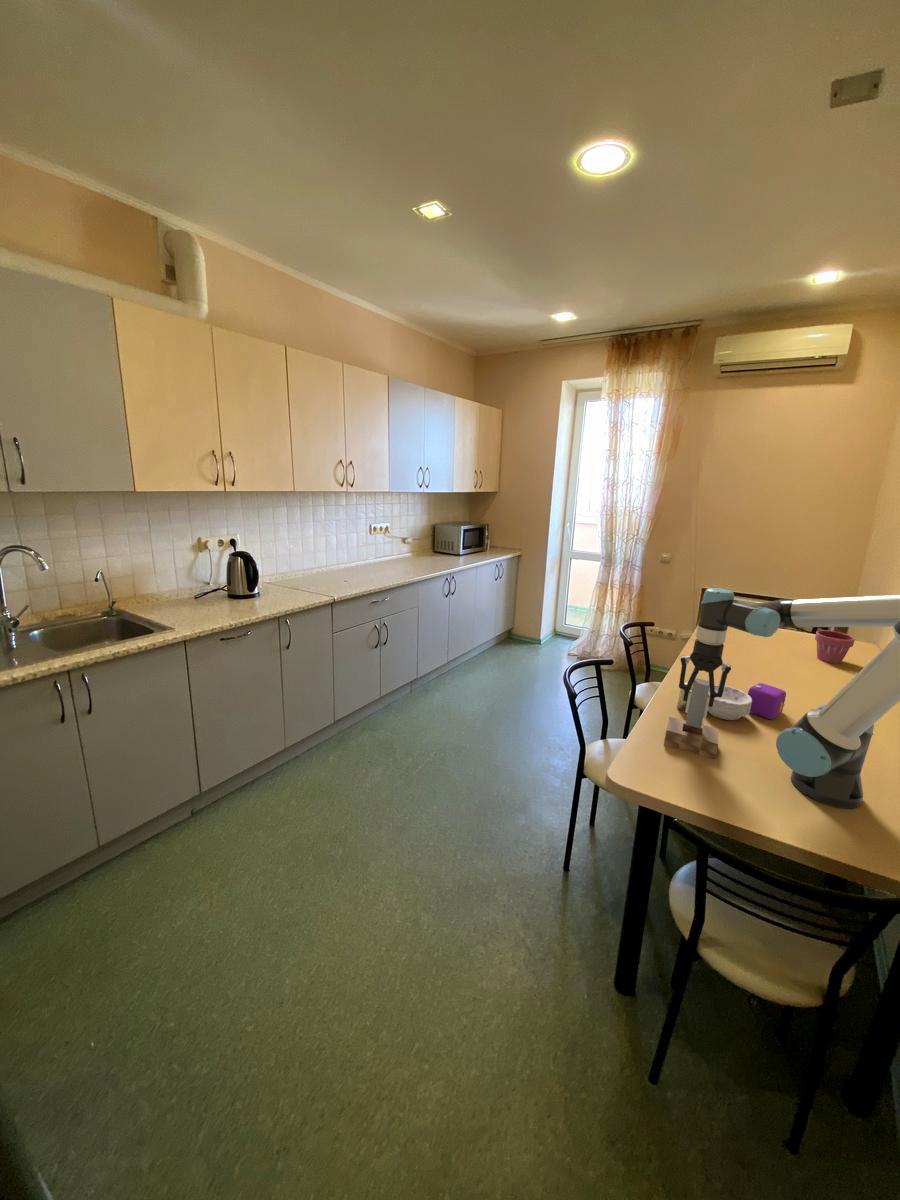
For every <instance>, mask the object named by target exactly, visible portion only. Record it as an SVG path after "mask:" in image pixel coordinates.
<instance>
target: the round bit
mask: <svg viewBox="0 0 900 1200" xmlns="http://www.w3.org/2000/svg"><path fill="white" fill-rule="evenodd" d="M688 681H689V680H684V684H685V685H687V683H688ZM692 687H693V684H692V686H691V689H690V690H692ZM684 692H685V691H684V690H683V689H680V688H679V693H678V699H677V705H676V709H677V710H678V711H680V712H682V713H685V714H687V713H686V712H685V710H686V705H687V701H684V700H683V698H684Z"/></svg>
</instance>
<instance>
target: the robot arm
mask: <svg viewBox="0 0 900 1200" xmlns="http://www.w3.org/2000/svg"><path fill="white" fill-rule="evenodd" d="M700 603H701V606H700V613H699V618H698V619H699V620H698V624H697V628H696V632H695V633H696V634H695V638H696V639H694V643H693V649H692V653H691V654H690V655H687V656H685V655H681V656H680V663H681V670H680V676H679V683H678V688H679V690H680V689H683V690H684V691H685V692H684V698H683V700H684V701H687V705H686V710H685V712H686V713H685V712H684V713H685V714H688V709H689V704H690V699H691V693H692V690H690V689H691V686H692V684H693V682H694V680H695V678H697V676H698V674H699V671H701V672H706V673H708V681H709V686H710V694H708V696H707V701H706V706H705V711H704V716H703V718H707V715H708V711H707V710H708V707H712V706H713V702H714V698H715V697H722V694H723V690H724V686H726V681H727V678H728V674H730V672H731V670H732V666H731V664H729V663H725V662H724V661H723V659H722V658H723V657H722V656H723V652H724V647H725V644H724V643H725V642H726V637H727V631H728V628H732V629H736V630H739V631H742V632H744V633H745V632H746V633H748V634H751V635H753V636H757V637H762V638H763V637H764V638H769V637H772V636H773V635H774V634H776V632H777V631H778V630H779V628H871V627H872V628H873V627H875V628H876V627H877V628H884V627H885V628H892V630H893V633H894V637H893V638H892V640H890V641H889V642H888V643H887V644H886V645H885V646H884V647H883V648H882V649H881V650H880V651H879V652H878V653H877V654H876V655H875V656H874V657H873V658H872V659H871V660H870V661H869V662H868V663H867V664H866V665H865V666H864V667H863V668H861V670H860V671H859V672H858V673H857V674H855V676H854V677H852V678H851V680H850V681H848V683H846V685H844V686H843V687H842V689H841V688H840V690H839V691H838V692H837V693H836V694H835V695H834V696H833V697H832V698H831V699H830V700H829V701H828V702H827V703H825V704H821V705H818V707H817V708H812V709H809V710H807V712H805V714H803V716H802V717H801V718H800V719H799V720H797V722H795V724H794V725H792V726H791V727H787V728H785V729H783V730H782V731H781V732H780V733H779V734H778V736H777V738H776V741H775V747H776V749H777V754H778V756H779V758H780V760H781V761H782V762H783V763H784V765H785V766H787V768H789V769H790V770H792V771H791V775H790V782H791V783H792V785H793V786H794V787H795V788H796V789H797V790H799V791H800V792H801V793H802V794H804V795H806V796H807V797H809V798H811V799H813V800H815V801H816V802H817V801H818V802H820V803H822V804H825V805H828V806H831V807H835V808H842V809H855V808H859V807H860V806H861V805H862V802H863V799H864V791H863V784H862V783H863V782H862V777H861V773H862V769H863V766H864V763H865V760H866V756H867V753H868V750H869V747H870V743H871V742H872V741H871V740H872V737H873V736H874V730H875V724H876V722H877V721H879V720H880V719H881V718H882V717H884V715H886V714H887V713H888V712H889V711H890V710H891V709H893V708H894V707H895V706H896V705H897V704H898V703H899V702H900V593H898V594H897V593H896V594H877V595H861V596H860V595H858V596H857V595H855V596H843V597H841V596H838V597H825V598H824V597H822V598H820V597H819V598H803V599H801V598H800V599H777V600H776V599H775V600H774V601H773V600H772V601H768V602H759V603H753V604H752V603H748V602H744V601H738V600H736V599H735V593H734V592H733V591H732V590H729V589H725V588H719V587H717V588H716V587H710V588H707V589H705V591H704V593H703V597H702V601H701V602H700ZM690 661H691V662H692V664H693V666H694V668H693V670H692V673H691V674H690V676H689V678H688V680H687V681H688V683H687V685H685V684H684V681H686V680H685V678H686V671H687V665H688V664H689V663H690ZM720 667H721V671H722V672H721V677H720V679H719V684H718V685H719V688H718V691H715V686H714V685H715V672H714V671H715V670H717V669H718V668H720Z"/></svg>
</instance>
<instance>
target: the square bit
mask: <svg viewBox="0 0 900 1200" xmlns="http://www.w3.org/2000/svg"><path fill="white" fill-rule="evenodd" d="M708 691H709V680H707V679H702V678H698V677H696V678H695V680H694V682H693V687H692V693H691V699H690V704H689V709H688V713H686V714H687V715H686V719H685V721H686V725H689V726H692V727H696V728H700V729H701V726H702V725H703V720H704V717H703V716H704V711H705V706H706V701H707V696H708Z"/></svg>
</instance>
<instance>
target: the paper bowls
mask: <svg viewBox="0 0 900 1200" xmlns="http://www.w3.org/2000/svg"><path fill="white" fill-rule="evenodd" d="M714 686H715V691H718V688H719V684H714ZM708 694H710V686H709V691H708ZM751 704H752V698H751V697H750V696H749V695H748V693H746V692H744V691H743V690H740V689H738V688H734V687H732V686H727V685H725V686H724V690H723V694H722V697H715V698H714V702H713V706H712V707H708V710H707V713H709V714H711V715H712V717H716V718H719V719H722V720H727V721H735V720H740V718H741V717H746V716H748V715H749V714H750V713H751V712H750V709H751Z"/></svg>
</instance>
